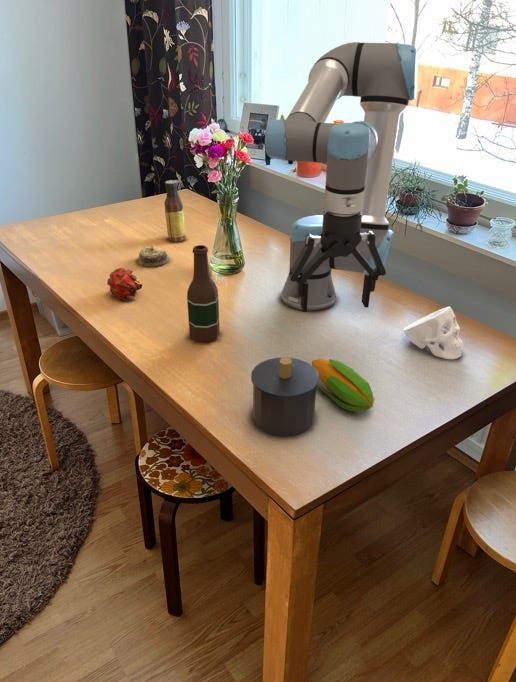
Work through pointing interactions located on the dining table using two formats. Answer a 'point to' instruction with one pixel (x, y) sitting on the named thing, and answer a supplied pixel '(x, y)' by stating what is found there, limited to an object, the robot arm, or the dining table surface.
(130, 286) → the dragon fruit
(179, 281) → the dining table surface
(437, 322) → the skull bowl
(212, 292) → the beer bottle
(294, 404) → the pot
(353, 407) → the corn
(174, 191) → the sauce bottle
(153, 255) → the grey rough lump
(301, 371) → the pot lid
